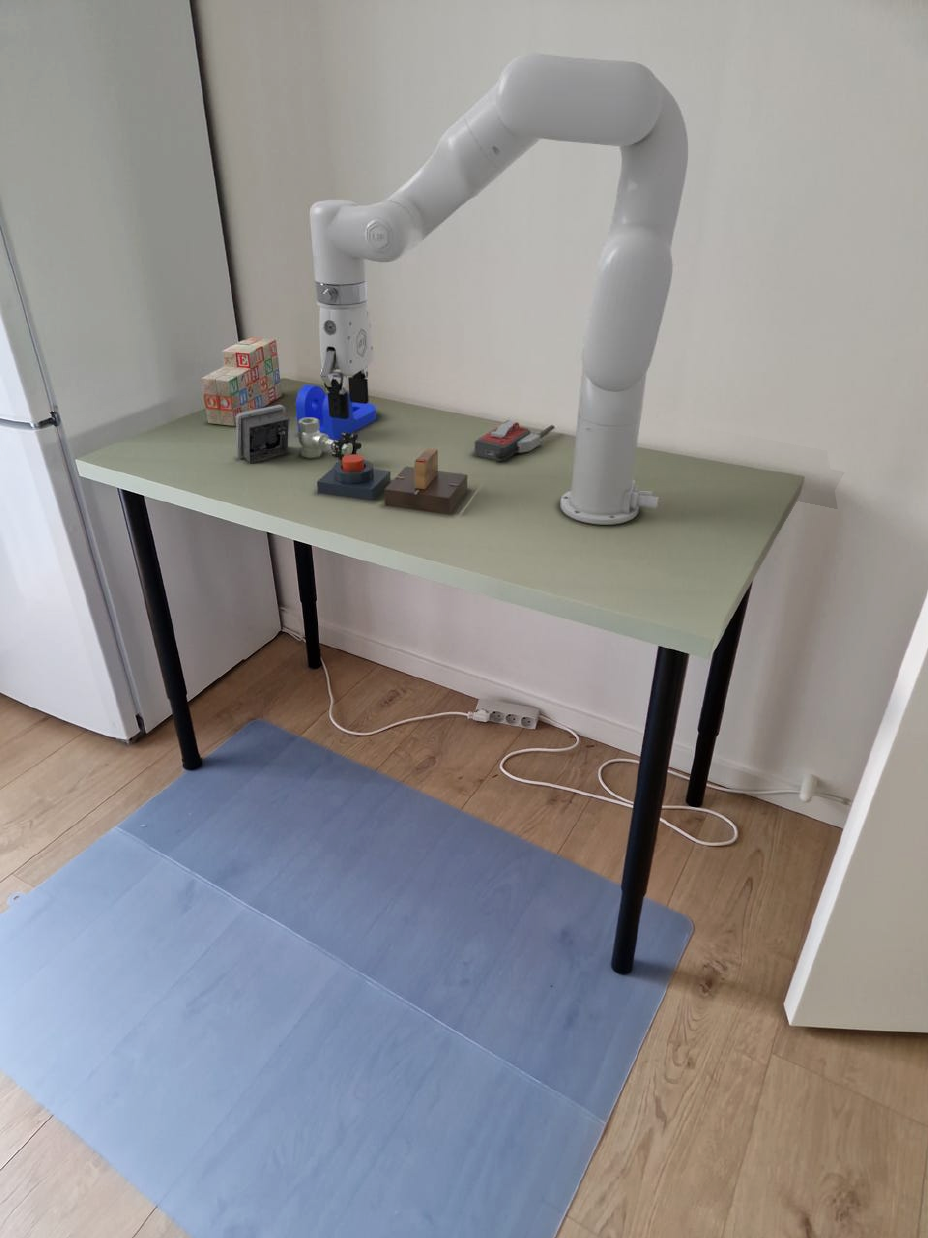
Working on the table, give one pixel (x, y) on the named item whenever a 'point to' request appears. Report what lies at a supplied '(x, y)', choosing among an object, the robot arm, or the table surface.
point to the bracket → (316, 406)
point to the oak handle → (426, 468)
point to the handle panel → (426, 492)
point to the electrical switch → (262, 433)
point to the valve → (323, 440)
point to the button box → (354, 482)
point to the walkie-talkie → (507, 441)
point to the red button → (353, 462)
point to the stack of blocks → (242, 381)
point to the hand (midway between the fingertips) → (349, 408)
